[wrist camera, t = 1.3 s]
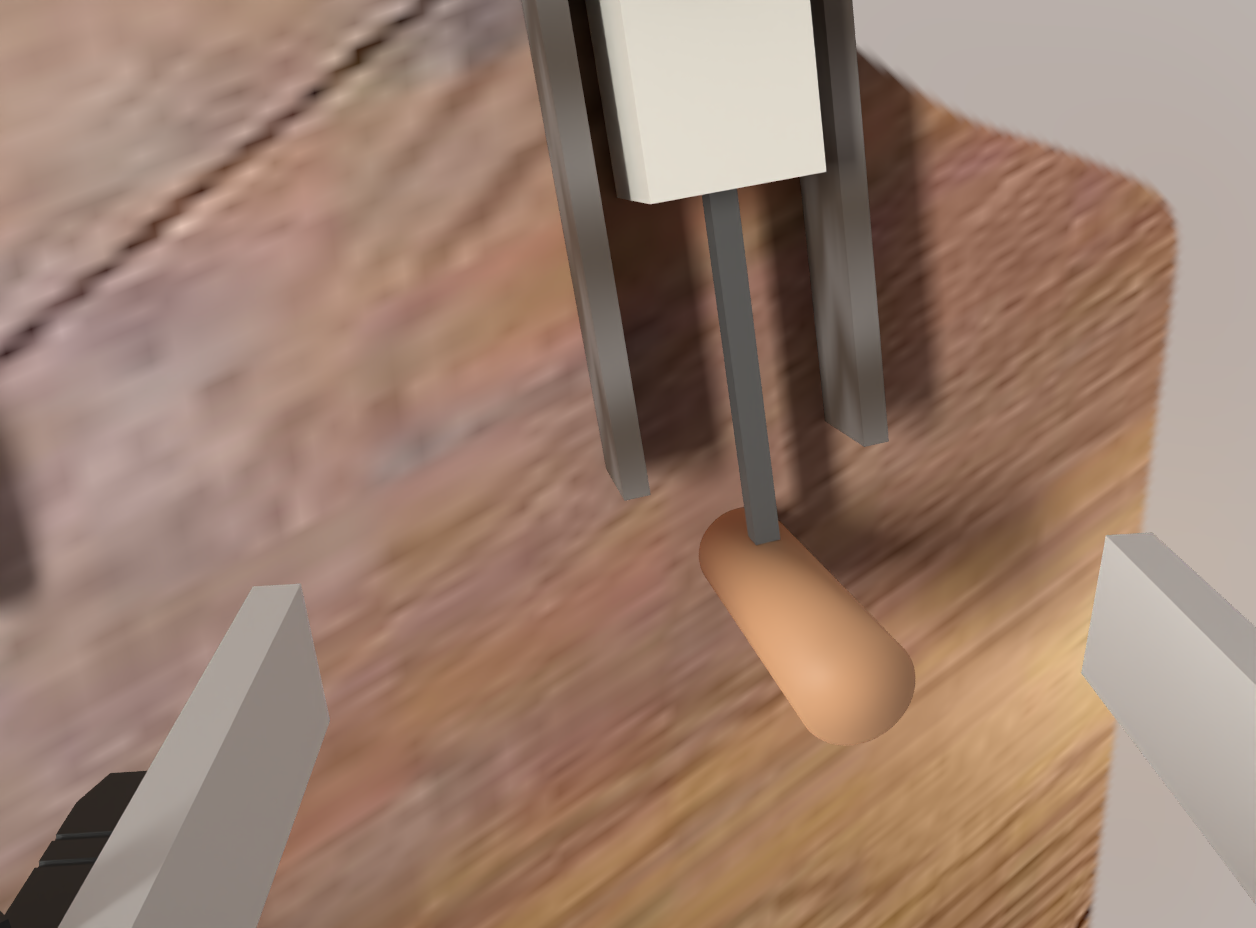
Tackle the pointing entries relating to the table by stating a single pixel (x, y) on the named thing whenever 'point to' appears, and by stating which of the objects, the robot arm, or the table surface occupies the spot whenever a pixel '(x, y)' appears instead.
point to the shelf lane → (829, 226)
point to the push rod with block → (745, 313)
